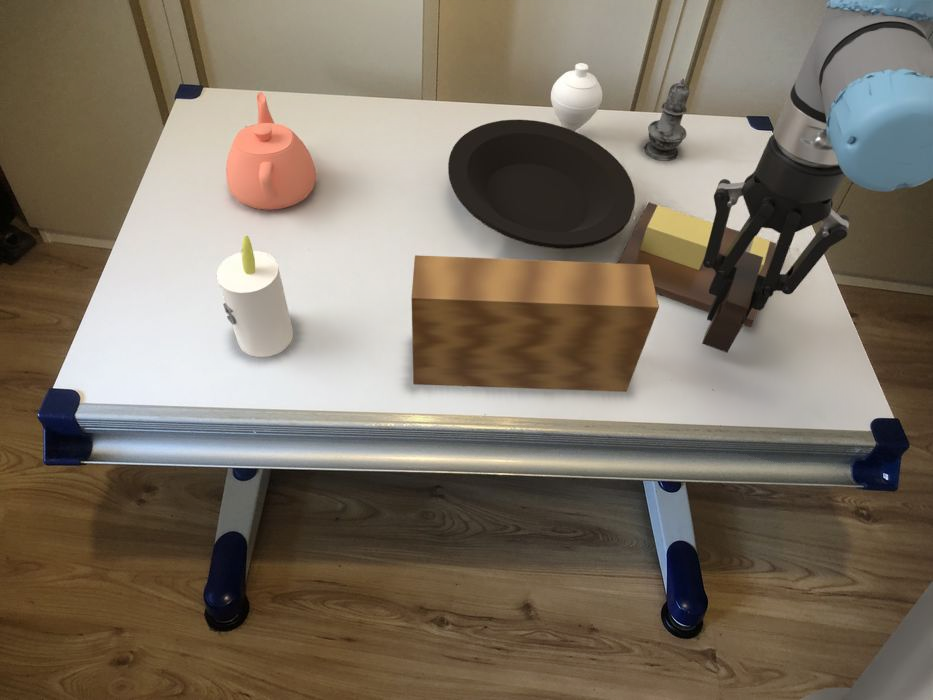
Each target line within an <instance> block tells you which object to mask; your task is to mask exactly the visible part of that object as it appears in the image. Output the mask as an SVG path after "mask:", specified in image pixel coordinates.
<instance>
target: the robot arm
mask: <svg viewBox="0 0 933 700" xmlns="http://www.w3.org/2000/svg"><path fill="white" fill-rule="evenodd" d="M825 8H826V9H825V13H824V15H823V17H822V19H821V21H820V24H819V26H818V27H817V30H816V33H815V35H814V37H813V39H812V42H811V44H810V47H809V49H808V51H807V54H806V56H805V58H804V60H803V62H802V65H801V67H800V70H799V71H798V74H797V76H796V79H795V80H794V84H793V86H792V88H791V90H790V91H789V93H788V95H787V98H786V100H785V102H784V105H783V106H782V109H781V112H780V114H779V115H778V118H777V121H776V122H775V125H774V128H773V130H772V135H771V136H770V137H769V138H768V141H767V143H766V145H765V147H764V149H763V151H762V154H761V156H760V158H759V161H758V163H757V166H756V167H755V170H754V171H753V172H752V173H751V174H749V175H748V176H747V177H746V178H745V180H744V182H743V181H742V182H735V183H732V182H731V181H730V180H729V179H727V178H723V179H721V180H720V181H719V182H718V184H717V187H716V189H715V191H714V194H713V200H714V201H713V203H714V206H715V214H714V218H713V222H712V223H713V226H712V230H711V234H710V238H709V242H708V246H707V249H706V253H705V257H704V261H703V265H704V266H705V267H707V268H713V269H714V270H715V272H716V274H715V276H714V278H713V280H712V282H711V285H710V288H709V294H712V295H715V296H716V297H715V299H714V301H713V304H712V306H711V309H710V312H708V315H707V318H706V320H707V321H710V322H711V321H712V318H713V316H714V314H715V312H716V310H717V308H718V306H719V304H722V302H723V300H724V298H725V296H726V294H727V292H728V290H729V288H730V286H731V284H732V282H733V279H734V276H735V272H736V269H737V267H734V266H735V265H736V263H737V262H738V260H739V259H740V257H741V256H742V254H743V253H744V252H745V250H746V249H747V247H748V246H749V244H750V243H751V241H752V240H753V238H754V237H755V236H756V237H757V236H758V235H759V233H760V231H761V230H762V228H763V229H771V230H773V231H775V232H777V233H778V234H779V236H778V239H777V241H776V247H775V250H774V253H773V256H772V259H771V262H770V265H769V268H768V270H767V273H766V277H764V276H761V275H758V277H757V281H756V284H755V287H754V291H753V295H752V298H751V302H750V305H749V309H748V310H747V312H746V316H745V319H744V322H745V320H746V318H747V316H748V315H749V313H750V311H751V309H752V308H753V309H756V310H757V311H761V310H763V309H764V308H765V306H766V304H767V302H768V300H769V299H770V298H771V297H773V295H774V293H775V292H782V294H784V295H792V294H793V293H794V292H795V291H796V289H797V288H798V287H799V286H800V284H801V283H802V282H803V281H804V279H806V277H807V276H808V275H809V273H810V272H812V270H813V268H814V267H815V266H816V265H817V263H818V262H819V261H820V260H821V259H822V258H823V256H824V255H825V254H826V253H827V251H828V250H829V249H830V248H831V247H832V246H834V245H836V244H837V243H839V242H841V241H842V240H844V239H846V237H847V236H848V232H849V226H850V222H851V219H850V217H849V216H848V215H846V214H842V215H839V214H838V213H837V212H836V211H834V210H833V209H832V208H833V203H834V202H833V198H834V196H835V194H836V192H837V191H838V189H839V188H840V185H841V184H842V182H843V180H844V178H845V177H846V178H847V179H848V180H850V181H851V182H852V183H854V184H855V185H857V186H859V187H861V188H864V189H866V190H869V191H874V192H882V193H883V192H884V193H885V192H886V193H888V192H893V191H894V190H901V189H904V188H914V187H918V186H921V185H923V184H925V183H928V182H929V181H931V180H933V48H932V46H931V44H930V41H929V38H928V36H927V34H928V32H929V30H930V28H931V27H932V25H933V0H828V2H826V5H825ZM740 197H743V200H744V203H745V206H746V209H747V212H748V215H749V217H748V218H747V219H746V221H745V223H744V224H743V225H742V227H741V229H740V230H739V231H740V232H739V233H738V235H737V236H736V238H735V239H734V241H733V243H732V244H731V246H730V247H729V249H728V250H727V252H726V253H725V254H724V255H722V254H721V253H719V250H720V247H721V243H722V239H723V236H724V232H725V228H726V227H727V224H728V221H729V217H730V213H731V210H732V207H733V206H735V205H737V203H738V201H739V198H740ZM821 221H822V222H821ZM819 222H820V226H819V230H818V231H817V233H816V234H815V235H814V236H813V237H812V239H811V240H810V242H809V243H808V245H806V247H805V248H804V250H803V251H802V252H801V253H800V254H799V256H798V257H797V258H796V260H795V261H794V262H793V264H792V265H791V266H790V267H789V269H788V270H787V272H786V273H781V272H782V269H783V267H784V264H785V262H786V259H787V256H788V253H789V250H790V247H791V245H792V243H793V240H794V237H795V235H796V233H797V232H800V231H802V230H804V229H806V228H808V227H810V226H811V227H812V226H813V225H815V224H817V223H819ZM743 325H744V323H743ZM798 700H933V580H932V581H931V583H929V585H928V586H927V587H926V589H925V590H924V592H923V593H922V594H921V595H920V597H919V598H918V600H917V601H916V602H915V603H914V605H912V607H911V609H910V610H909V611H908V613H906V615H905V617H904V618H903V619H902V620H901V622H899V624H898V626H897V627H896V629H894V630H893V632H892V634H891V635H890V636H889V637H888V639H887V640H886V642H885V643H884V644H883V645H882V647H881V648H880V649H879V650H878V652H877V653H876V655H875V656H874V657H873V658H872V660H871V661H870V662H869V664H868V665H867V666H866V668H865V669H864V670H863V671H862V673H861V675H860V676H859V677H858V678H857V679H856V681H855V682H854V683H853V685H852V686H851V687H829V688H824V689H819V690H817V691H813V692H811V693H809V694H807V695H804V696H802V697H800V698H798Z"/></svg>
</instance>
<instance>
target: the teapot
mask: <svg viewBox="0 0 933 700" xmlns="http://www.w3.org/2000/svg"><path fill="white" fill-rule="evenodd" d="M256 103H257V123H255V124H251V125H248V126H246V127H244V128H242V129H240V130H239V131H238V132H237V134H236V135H235V136H234V139H233V141H232V144H231V146H230V149H229V152H228V155H227V158H226V165H225V166H226V167H225V173H226V174H225V176H226V183H227V187H228V190H229V192H230V193H231V195H232V196H233V197H234V199H236V200H237V201H239V202H240V203H242V204H244V205H246V206H248V207H250V208H253V209H259V210H267V211H269V210H270V211H271V210H281V209H287V208H289V207H293V206H295V205H297V204H300V203H301V202H303V201H304V200H305V199H306V198H307V197H308V196H309V195H310V194H311V192H312V191H313V189H314V187H315V185H316V181H317V171H316V170H317V169H316V167H315V166H316V165H315V162H314V160H313V157H312V155H311V153H310V151H309V150H308V148H307V146H306V145H305V144H304V142H303V141H302V140H301V138H300V137H299V136H298V135H297V133H295V132H294V131H293V130H292V129H291V128H289V127H288V126H286V125H283V124H280V123H275V120H274V119H273V117H272V113H271V112H270V109H269V106H268V101H267V97H266V95H265V94H264V93H263V92H258V93H257V95H256Z"/></svg>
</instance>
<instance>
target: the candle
mask: <svg viewBox="0 0 933 700" xmlns="http://www.w3.org/2000/svg"><path fill="white" fill-rule="evenodd" d="M253 249H254V248H253V246H252V242H251V239H250V237H249V236H248V234H245V235H244V236H243V239H242V243H241V251H239V252H236V253H234V254H231V255H230V256H228V257H227V258H225V259H223V261H222V262H221V263H220V264H219V265H218V268H217V269H216V279H217V283H218V287H219V289H220V293H221V296H222V298H223V301H224V303H222V305H223V308H224V312H225V313H226V314H227V316H226V319H227V321H229V322H230V324H231V325H232V328H233V331H234V335H235V337H236V341H237V344H238V347H239V348H240V349H241V350H242V352H244V353H245V354H246V355H249V356H252V357H255V358H270V357H273V356H276V355H278V354H280V353H282V352H283V351H284V350H286V349H287V348H288V347H289V346H290V344H291V343H292V340H293V338H294V330H293V326H292V321H291V315H290V312H289V308H288V307H289V306H288V303H287V299H286V295H285V289H284V285H283V280H282V277H281V273H280V272H281V271H280V268H279V264H278V262H277V260H276V259H275V258H274V257H273V256H272V255H270V254H269V253H267V252H263V251H260V250H253Z"/></svg>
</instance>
